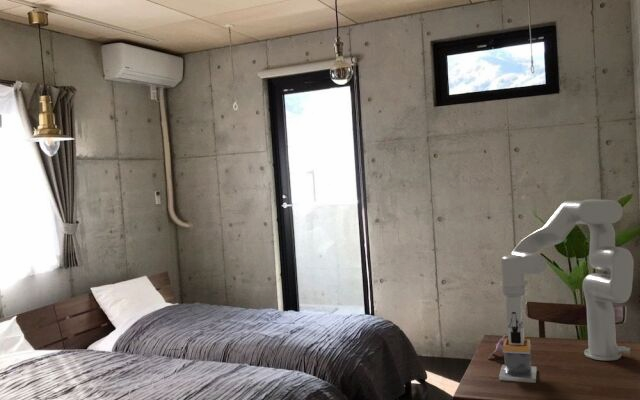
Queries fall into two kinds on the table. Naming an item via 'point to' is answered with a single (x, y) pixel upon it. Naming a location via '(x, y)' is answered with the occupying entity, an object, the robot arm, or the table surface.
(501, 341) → the lily
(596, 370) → the table surface
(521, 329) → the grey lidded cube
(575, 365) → the table surface
